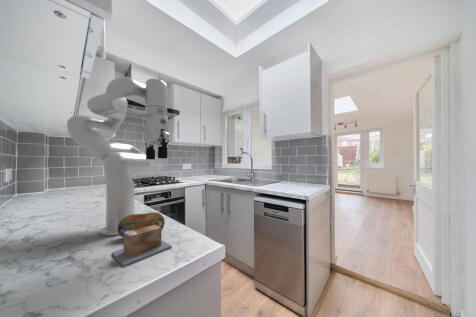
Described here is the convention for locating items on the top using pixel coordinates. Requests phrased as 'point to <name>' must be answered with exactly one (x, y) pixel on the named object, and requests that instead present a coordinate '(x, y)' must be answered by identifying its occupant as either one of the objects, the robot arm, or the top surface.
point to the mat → (126, 261)
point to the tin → (140, 222)
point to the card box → (141, 240)
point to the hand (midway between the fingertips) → (156, 158)
